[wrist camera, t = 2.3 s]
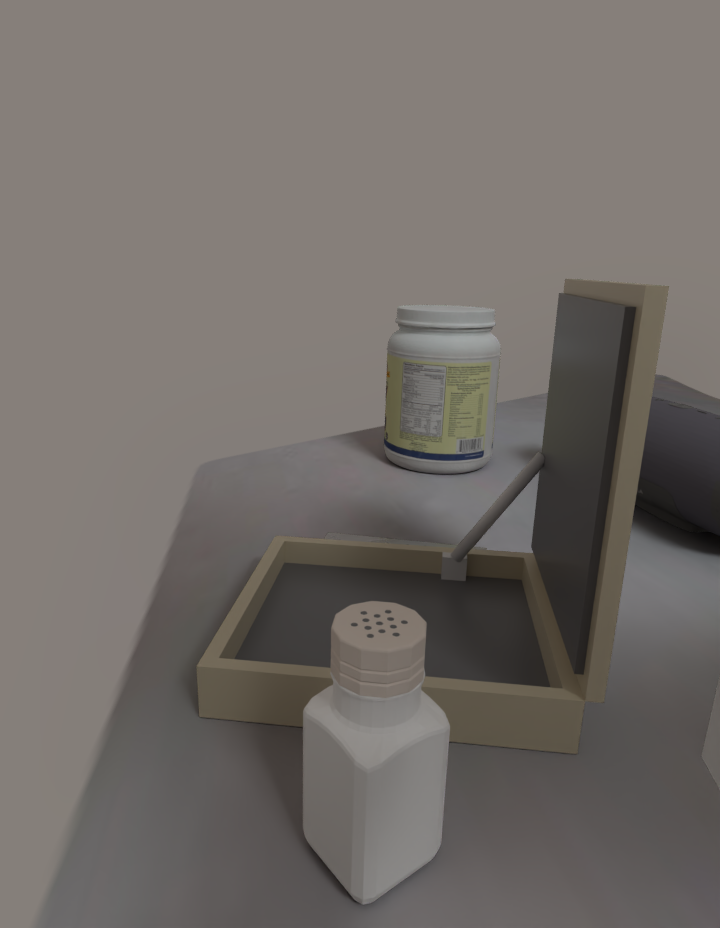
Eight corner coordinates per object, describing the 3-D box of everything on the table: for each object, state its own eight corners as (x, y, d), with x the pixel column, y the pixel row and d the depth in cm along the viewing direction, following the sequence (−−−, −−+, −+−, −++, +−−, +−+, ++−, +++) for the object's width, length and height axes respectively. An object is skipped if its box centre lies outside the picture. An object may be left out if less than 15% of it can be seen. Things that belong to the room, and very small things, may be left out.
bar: (484, 567, 48) (486, 548, 48) (484, 577, 47) (486, 557, 46) (327, 551, 51) (328, 532, 50) (322, 559, 49) (322, 540, 49)
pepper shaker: (446, 858, 24) (465, 630, 21) (361, 920, 22) (369, 673, 19) (378, 791, 27) (386, 584, 24) (296, 839, 25) (295, 616, 22)
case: (595, 755, 29) (668, 285, 23) (199, 717, 31) (174, 272, 25) (542, 592, 44) (579, 279, 38) (276, 572, 46) (271, 271, 40)
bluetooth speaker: (812, 559, 51) (843, 435, 48) (710, 569, 49) (736, 439, 46) (631, 472, 72) (644, 382, 69) (554, 476, 70) (565, 383, 67)
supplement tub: (408, 441, 82) (414, 302, 77) (503, 455, 77) (517, 307, 72) (364, 465, 71) (369, 307, 66) (472, 484, 66) (485, 313, 61)
